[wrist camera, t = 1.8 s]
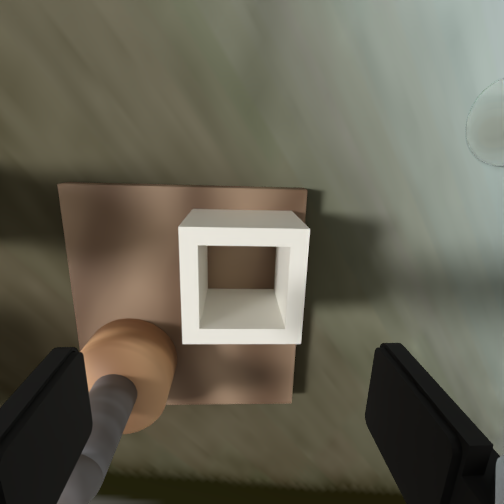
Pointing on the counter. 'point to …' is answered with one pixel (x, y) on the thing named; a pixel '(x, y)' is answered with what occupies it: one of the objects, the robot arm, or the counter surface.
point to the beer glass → (487, 125)
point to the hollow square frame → (243, 300)
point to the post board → (159, 310)
